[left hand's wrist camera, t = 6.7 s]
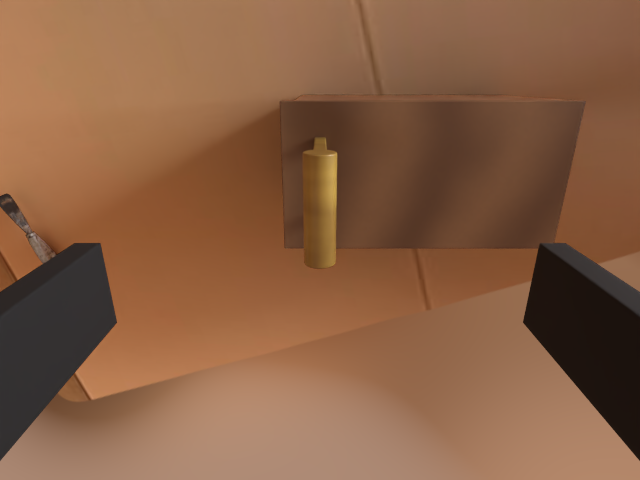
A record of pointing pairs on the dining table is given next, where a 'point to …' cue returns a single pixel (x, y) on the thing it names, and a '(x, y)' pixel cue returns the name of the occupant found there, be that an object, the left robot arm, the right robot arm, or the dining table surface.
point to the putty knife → (26, 228)
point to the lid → (424, 173)
